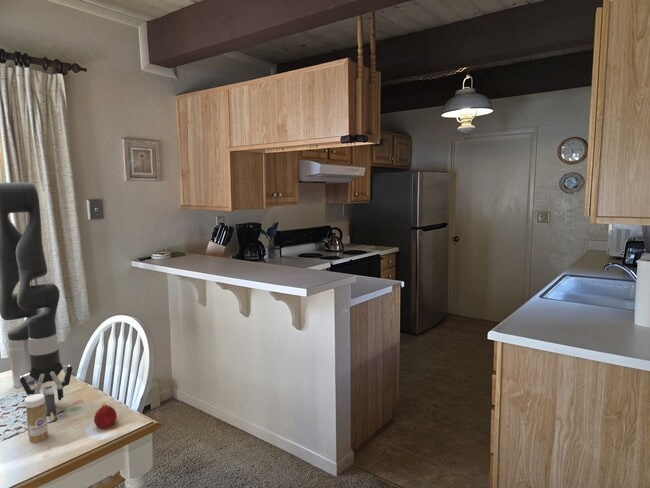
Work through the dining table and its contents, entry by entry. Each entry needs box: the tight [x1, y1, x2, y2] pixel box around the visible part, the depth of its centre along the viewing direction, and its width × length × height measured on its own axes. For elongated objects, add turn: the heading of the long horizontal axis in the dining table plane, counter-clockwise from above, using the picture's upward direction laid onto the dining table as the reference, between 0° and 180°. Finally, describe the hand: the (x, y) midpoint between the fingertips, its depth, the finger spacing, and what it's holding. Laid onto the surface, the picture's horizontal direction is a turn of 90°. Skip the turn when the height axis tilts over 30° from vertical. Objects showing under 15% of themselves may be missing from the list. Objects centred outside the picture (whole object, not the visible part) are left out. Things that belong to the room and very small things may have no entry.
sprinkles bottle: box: [24, 393, 49, 444], centre depth 117 cm, size 5×5×13 cm
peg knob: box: [42, 385, 57, 421], centre depth 131 cm, size 13×2×6 cm, turn 37°
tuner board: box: [54, 398, 85, 420], centre depth 133 cm, size 16×15×2 cm
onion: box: [93, 402, 118, 430], centre depth 124 cm, size 6×6×8 cm
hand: (49, 401), depth 133 cm, fingers open, 4 cm apart
